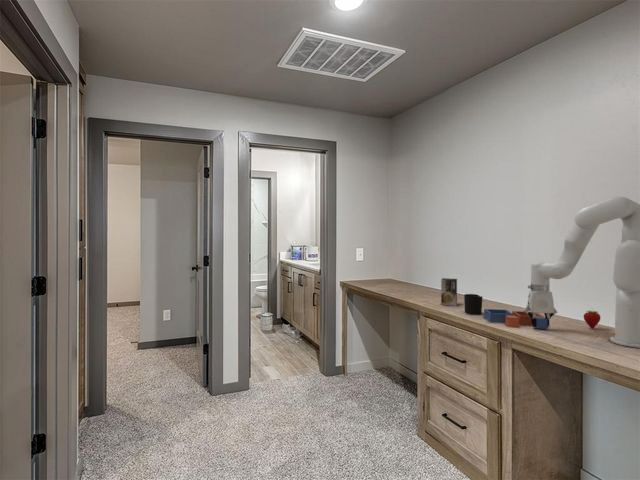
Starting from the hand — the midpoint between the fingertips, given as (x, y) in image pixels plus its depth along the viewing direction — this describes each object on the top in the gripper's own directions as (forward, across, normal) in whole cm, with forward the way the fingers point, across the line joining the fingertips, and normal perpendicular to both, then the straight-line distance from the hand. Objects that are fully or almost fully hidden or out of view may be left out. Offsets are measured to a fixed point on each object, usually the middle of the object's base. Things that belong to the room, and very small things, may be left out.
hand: (540, 326), depth 175 cm
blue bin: (+1, -14, +14) cm, 20 cm away
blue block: (0, 0, 0) cm, 0 cm away
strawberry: (+2, +24, +5) cm, 25 cm away
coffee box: (0, -32, +52) cm, 62 cm away
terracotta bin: (+1, -2, +11) cm, 11 cm away
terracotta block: (+1, -12, +3) cm, 12 cm away
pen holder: (+1, -24, +29) cm, 38 cm away
